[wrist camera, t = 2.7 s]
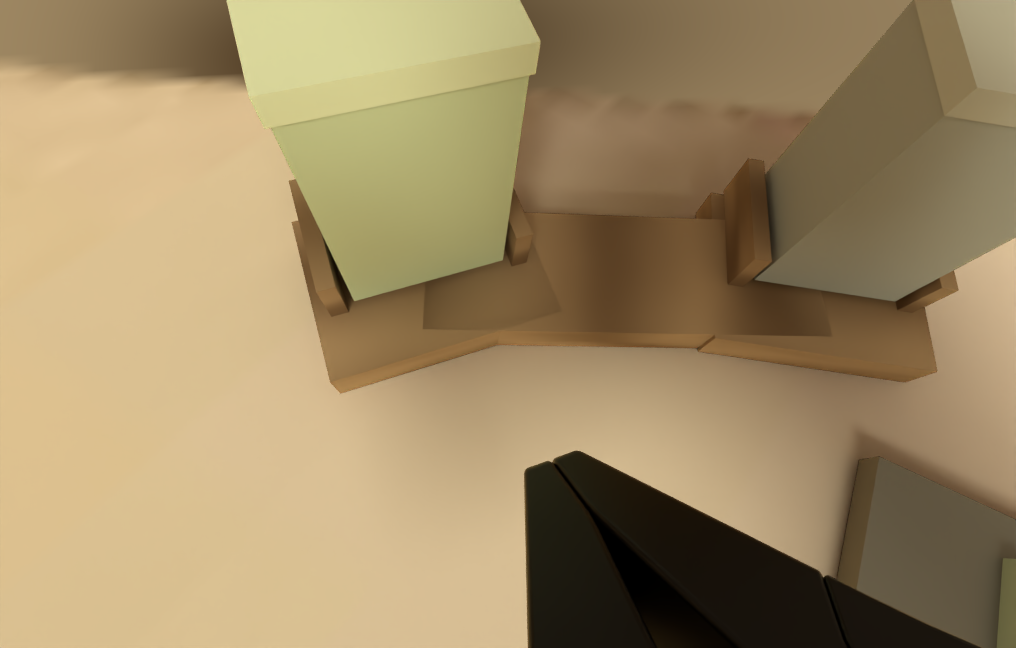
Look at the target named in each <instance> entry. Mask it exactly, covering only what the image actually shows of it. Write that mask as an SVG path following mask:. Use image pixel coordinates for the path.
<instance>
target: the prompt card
mask: <svg viewBox="0 0 1016 648" xmlns="http://www.w3.org/2000/svg"><path fill="white" fill-rule="evenodd" d="M837 580H839V581H841V582H843V583H845V584H847V585H849V586H851V587H853V588H855V589H857V590H859V591H861V592H863V593H865V594H867V595H869V596H871V597H873V598H875V599H877V600H879V601H881V602H884V603H886V604H888V605H890V606H892V607H894V608H896V609H898V610H900V611H902V612H904V613H907V614H909V615H911V616H913V617H915V618H917V619H919V620H921V621H923V622H925V623H928V624H930V625H932V626H934V627H937V628H939V629H941V630H944V631H946V632H948V633H950V634H953V635H955V636H957V637H960V638H962V639H964V640H967V641H969V642H971V643H973V644H976V645H978V646H980V647H983V648H1016V519H1014V518H1011V517H1009V516H1007V515H1005V514H1003V513H1001V512H998V511H996V510H994V509H992V508H990V507H988V506H985V505H983V504H981V503H979V502H977V501H975V500H973V499H970V498H968V497H966V496H964V495H962V494H960V493H957V492H955V491H953V490H951V489H949V488H947V487H944V486H942V485H940V484H938V483H936V482H934V481H931V480H929V479H927V478H925V477H923V476H921V475H918V474H916V473H914V472H912V471H910V470H908V469H905V468H903V467H901V466H899V465H897V464H895V463H893V462H890V461H888V460H886V459H884V458H882V457H880V456H879V457H873V458H868V459H862V460H859V464H858V469H857V474H856V480H855V485H854V490H853V496H852V501H851V506H850V512H849V517H848V522H847V528H846V533H845V538H844V544H843V549H842V554H841V560H840V565H839V570H838V576H837Z"/></svg>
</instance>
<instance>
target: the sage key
mask: <svg viewBox="0 0 1016 648" xmlns="http://www.w3.org/2000/svg"><path fill="white" fill-rule="evenodd" d="M227 4H228V8H229V13H230V17H231V22H232V26H233V30H234V35H235V39H236V43H237V47H238V52H239V56H240V60H241V65H242V70H243V74H244V78H245V83H246V87H247V91H248V96H249V98H250V101H251V103H252V105H253V107H254V109H255V111H256V113H257V115H258V117H259V119H260V121H261V123H262V125H263V127H264V129H268V128H271V129H272V131H273V133H274V135H275V138H276V140H277V142H278V144H279V146H280V148H281V150H282V152H283V154H284V156H285V158H286V160H287V162H288V165H289V167H290V169H291V171H292V173H293V175H294V177H295V179H296V181H297V183H298V185H299V187H300V190H301V192H302V194H303V196H304V198H305V200H306V202H307V204H308V206H309V208H310V210H311V212H312V214H313V217H314V219H315V221H316V223H317V225H318V227H319V229H320V231H321V233H322V235H323V237H324V239H325V241H326V244H327V246H328V248H329V250H330V252H331V254H332V256H333V258H334V260H335V262H336V264H337V266H338V269H339V271H340V273H341V275H342V277H343V279H344V281H345V283H346V285H347V287H348V289H349V291H350V293H351V296H352V298H353V300H354V301H357V300H361V299H364V298H368V297H372V296H375V295H379V294H382V293H386V292H390V291H393V290H397V289H401V288H404V287H408V286H411V285H415V284H419V283H422V282H426V281H430V280H433V279H437V278H440V277H444V276H448V275H451V274H455V273H458V272H462V271H466V270H469V269H473V268H477V267H480V266H484V265H487V264H491V263H495V262H498V261H502V260H503V255H504V248H505V241H506V234H507V227H508V220H509V213H510V206H511V199H512V192H513V185H514V178H515V171H516V164H517V157H518V150H519V144H520V137H521V130H522V123H523V116H524V109H525V102H526V95H527V88H528V81H529V75H534V74H536V68H537V62H538V55H539V50H540V43H541V41H540V39H539V37H538V35H537V33H536V31H535V29H534V27H533V25H532V23H531V21H530V19H529V17H528V16H527V13H526V11H525V9H524V8H523V6H522V4H521V2H520V0H227Z"/></svg>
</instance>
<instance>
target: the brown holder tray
mask: <svg viewBox="0 0 1016 648" xmlns="http://www.w3.org/2000/svg"><path fill="white" fill-rule="evenodd" d="M289 184H290V188H291V192H292V196H293V200H294V204H295V208H296V212H297V216H298V220H299V221H295V222H292V225H293V229H294V233H295V238H296V242H297V246H298V250H299V254H300V258H301V263H302V267H303V271H304V275H305V279H306V283H307V287H308V292H309V296H310V300H311V304H312V308H313V312H314V317H315V321H316V325H317V329H318V333H319V337H320V342H321V346H322V350H323V354H324V358H325V362H326V367H327V371H328V375H329V379H330V383H331V384H332V385H333V386H334V387H335V388H336V389H337V390H338V391H339V392H340V393H343V392H347V391H350V390H353V389H356V388H360V387H363V386H366V385H369V384H372V383H376V382H379V381H382V380H385V379H389V378H392V377H395V376H398V375H402V374H405V373H408V372H411V371H414V370H418V369H421V368H424V367H427V366H431V365H434V364H437V363H440V362H444V361H447V360H450V359H453V358H456V357H460V356H463V355H466V354H469V353H473V352H476V351H479V350H482V349H485V348H489V347H492V346H495V345H541V346H604V347H666V348H698V351H699V352H706V353H712V354H719V355H726V356H732V357H739V358H746V359H752V360H759V361H766V362H773V363H779V364H786V365H793V366H799V367H806V368H813V369H819V370H826V371H833V372H839V373H846V374H853V375H859V376H866V377H873V378H879V379H886V380H893V381H899V382H908V381H911V380H914V379H917V378H920V377H923V376H926V375H929V374H932V373H935V372H937V367H936V362H935V357H934V352H933V347H932V342H931V337H930V332H929V327H928V322H927V317H926V312H925V306H927V305H929V304H931V303H934V302H936V301H938V300H940V299H942V298H944V297H946V296H948V295H950V294H952V293H954V292H956V291H958V286H957V282H956V277H955V273H954V270H953V271H951V272H950V273H948V274H946V275H944V276H942V277H940V278H938V279H936V280H934V281H933V282H931V283H929V284H927V285H925V286H923V287H921V288H919V289H918V290H916V291H914V292H912V293H910V294H908V295H906V296H904V297H902V298H901V299H899V300H897V301H888V300H882V299H875V298H869V297H862V296H856V295H849V294H843V293H836V292H830V291H823V290H817V289H810V288H804V287H797V286H791V285H784V284H778V283H771V282H765V281H758V280H754V277H755V276H756V275H757V274H758V273H759V272H761V271H762V270H763V269H764V268H765V267H766V266H767V265H769V264H770V263H771V262H772V257H771V244H770V232H769V219H768V206H767V194H766V181H765V168H764V161H761V160H754V159H748V160H747V161H746V162H745V164H744V165H743V166H742V168H741V169H740V170H739V172H738V173H737V174H736V176H735V177H734V178H733V179H732V181H731V182H730V183H729V185H728V186H727V187H726V189H725V190H724V195H722V194H716V193H711V194H710V195H709V196H708V198H707V199H706V200H705V202H704V203H703V205H702V206H701V207H700V209H699V210H698V211H697V213H696V219H691V218H664V217H636V216H608V215H581V214H553V213H526V212H524V211H523V209H522V207H521V204H520V202H519V200H518V197H517V195H516V193H515V190H514V188H513V192H512V199H511V206H510V213H509V220H508V227H507V234H506V241H505V248H504V255H503V260H502V261H498V262H495V263H491V264H487V265H484V266H480V267H477V268H473V269H469V270H466V271H462V272H458V273H455V274H451V275H448V276H444V277H440V278H437V279H433V280H430V281H426V282H422V283H419V284H415V285H411V286H408V287H404V288H401V289H397V290H393V291H390V292H386V293H382V294H379V295H375V296H372V297H368V298H364V299H361V300H357V301H354V300H353V298H352V296H351V293H350V291H349V289H348V287H347V285H346V283H345V281H344V279H343V277H342V275H341V273H340V271H339V269H338V266H337V264H336V262H335V260H334V258H333V256H332V254H331V252H330V250H329V248H328V246H327V244H326V241H325V239H324V237H323V235H322V233H321V231H320V229H319V227H318V225H317V223H316V221H315V219H314V217H313V214H312V212H311V210H310V208H309V206H308V204H307V202H306V200H305V198H304V196H303V194H302V192H301V190H300V187H299V185H298V183H297V181H296V179H295V180H291V181H289Z"/></svg>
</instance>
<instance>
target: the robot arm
mask: <svg viewBox="0 0 1016 648" xmlns="http://www.w3.org/2000/svg"><path fill="white" fill-rule="evenodd" d="M524 491H525V537H526V583H527V629H528V648H983V647H980V646H978V645H976V644H973V643H971V642H969V641H967V640H964V639H962V638H960V637H957V636H955V635H953V634H950V633H948V632H946V631H944V630H941V629H939V628H937V627H934V626H932V625H930V624H928V623H925V622H923V621H921V620H919V619H917V618H915V617H913V616H911V615H909V614H907V613H904V612H902V611H900V610H898V609H896V608H894V607H892V606H890V605H888V604H886V603H884V602H881V601H879V600H877V599H875V598H873V597H871V596H869V595H867V594H865V593H863V592H861V591H859V590H857V589H855V588H853V587H851V586H849V585H847V584H845V583H843V582H841V581H839V580H837V579H835V578H833V577H831V576H828V575H826V576H824V577H823V576H822V574H821V573H820V571H818V570H816V569H814V568H812V567H810V566H808V565H806V564H804V563H802V562H800V561H798V560H796V559H794V558H792V557H790V556H788V555H786V554H784V553H782V552H780V551H778V550H776V549H774V548H772V547H770V546H768V545H766V544H764V543H762V542H760V541H758V540H756V539H754V538H753V537H751V536H749V535H747V534H745V533H743V532H741V531H739V530H737V529H735V528H733V527H731V526H729V525H727V524H725V523H723V522H721V521H719V520H717V519H715V518H713V517H711V516H709V515H707V514H705V513H703V512H701V511H699V510H697V509H695V508H693V507H691V506H689V505H687V504H685V503H683V502H681V501H679V500H677V499H675V498H673V497H671V496H669V495H667V494H665V493H663V492H661V491H659V490H657V489H655V488H653V487H651V486H649V485H647V484H645V483H643V482H641V481H639V480H637V479H635V478H633V477H631V476H629V475H627V474H625V473H623V472H621V471H619V470H617V469H615V468H613V467H611V466H609V465H607V464H605V463H603V462H601V461H599V460H597V459H595V458H593V457H591V456H589V455H587V454H585V453H583V452H581V451H573V452H570V453H568V454H565V455H562V456H559V457H557V458H555V459H554V460H553V462H549V461H546V462H543V463H540V464H538V465H535V466H532V467H529V468H527V469H526V470H525V472H524Z"/></svg>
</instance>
